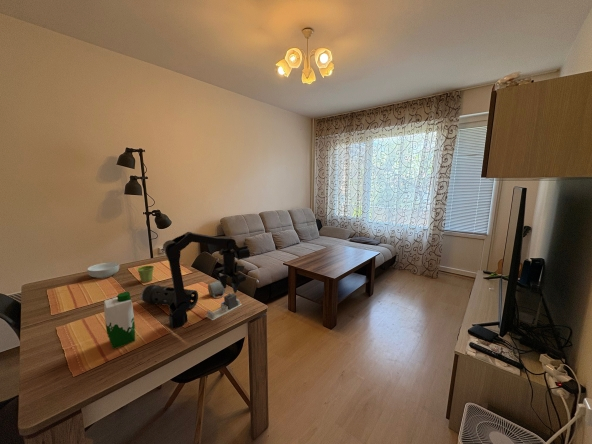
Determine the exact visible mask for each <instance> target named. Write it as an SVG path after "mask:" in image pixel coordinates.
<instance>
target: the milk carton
mask: <svg viewBox="0 0 592 444" xmlns="http://www.w3.org/2000/svg"><path fill="white" fill-rule="evenodd" d="M103 308H104V312H103V314H104V321H105V329H106V334H107V337H108V339H109V342H110V344H111V347H112V350H115V349H118V348H120V347H123V346H125V345H128V344H130V343H133V342H135V341H136V324H135V323H136V322H135V316H134V308H133V301H132V297H131V292H130V291H124V292H121V293H118V294H117V297H116V296H114V297H112V298H110V299H106V300H104V307H103Z"/></svg>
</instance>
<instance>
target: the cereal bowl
mask: <svg viewBox="0 0 592 444" xmlns="http://www.w3.org/2000/svg"><path fill="white" fill-rule="evenodd" d="M119 269H120V264H119V263H118V262H111V261H110V262H104V263H97V264H94V265H91V266H88V267H87V270H86V271H87V274H88V275H89V276H90V277H92V278H98V279H106V278H109V277H111V276H112V275H114V274H117V272H118V271H120V270H119Z"/></svg>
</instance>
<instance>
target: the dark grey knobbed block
mask: <svg viewBox="0 0 592 444" xmlns="http://www.w3.org/2000/svg"><path fill="white" fill-rule="evenodd" d="M223 298H224V299H223V300H224V301H223V302H224V304H225V305H226V306H228V309H229V310H230V309H232V308H234V307H236V306H237V304H236V299H237V295H236V294H235V293H234V294H233V293H232V292H229V293H228V294H227V295H225V296H223Z"/></svg>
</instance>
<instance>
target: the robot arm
mask: <svg viewBox="0 0 592 444" xmlns="http://www.w3.org/2000/svg"><path fill="white" fill-rule="evenodd" d="M191 243H197V244H204V245H210V246H217V247H219V248H221V249H220V250H219V252H218V254H219V255H220V256H222V263H221V267H218V268H215V269H214V271H213V275H214V276H215V277H216V278H217V279H218V281H220V282H221V284H222V286H223V287H224V289H225V290H226V288H227V281H228V280H227V279H228V278H229V277H230V278H231V281H230V284H231V287H232V291H233V293H234V294H237V292H238V290H239V289H238V288H239V286H240V284H241V283H243V282H245V281H246V280H247V275H245V274H243V272H244V271H245V270H244V269H245V265H243V264H239V263H238V262H237V261H239V260H244V259H245V260H246V259H249V258H250V255H251V253H250V250H249V247H248V245H246V244H245V245H240V246H238V245H237V242H236V240H235V239H234V238H232V237H230V236H227V235H226V236H222V235H221V236H214V235H207V234H202V233H195V232H192V231H187V232H185V233H183V234H181V235H179V236H177V237H175V238H173V239H171V240H170V239H169V240H166V241H164V243H163V244H162V249H163V252H164V255H165V256H166V259H167V261H168V266H169V269H170V274H171V275H170V276H171V278H172V279H171V280H172V285H173V288H174V295H173V302H172V303H171V305H170V306H169V305H168V310H169V313H170V314H168V321H169V327H170V328H172V329H173V330H174V329H176V328H177V329H178V328H182V327H183V326H185V324H186V323H188V321H189V320H188V313H187V312H188V309H190V308H189V307H190V303H191V302H192V300H190V294H189V292H188V291H187V290H184V289H185V285H184V281H183V275H182V270H181V265H180V264H181V263H180V260H181V251H183V250H184V249H186V248H187V247H188V246H189V245H190V244H191ZM236 259H237V261H236ZM239 272H242V273H239Z"/></svg>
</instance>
